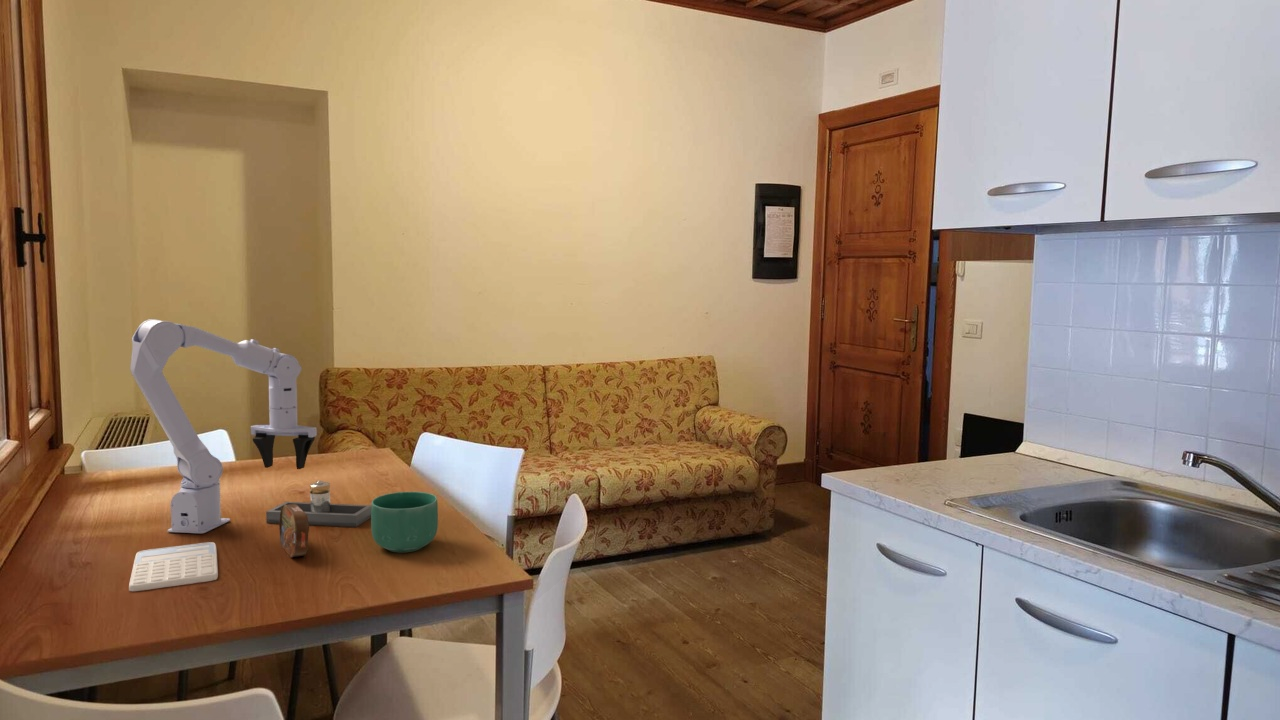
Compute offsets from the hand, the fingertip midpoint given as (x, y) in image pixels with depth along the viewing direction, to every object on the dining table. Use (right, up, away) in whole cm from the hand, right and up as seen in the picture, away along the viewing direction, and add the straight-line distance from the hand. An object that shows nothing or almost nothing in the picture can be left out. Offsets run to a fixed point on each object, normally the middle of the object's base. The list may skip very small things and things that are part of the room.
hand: (284, 467), depth 186 cm
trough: (+10, -11, -6) cm, 16 cm away
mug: (+33, -13, -21) cm, 41 cm away
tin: (+13, -13, -26) cm, 32 cm away
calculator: (-4, -14, -36) cm, 39 cm away
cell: (+10, -10, -5) cm, 15 cm away
